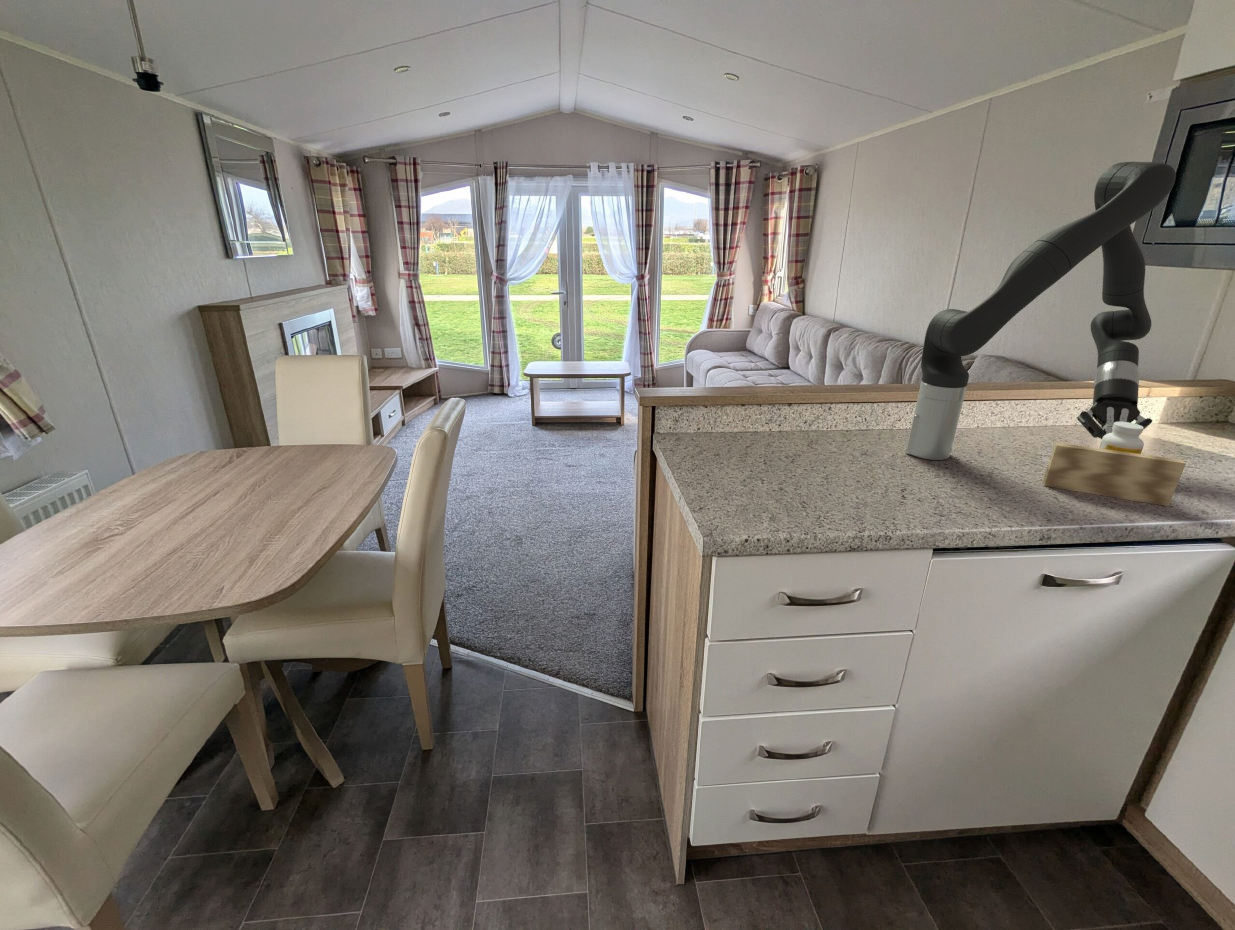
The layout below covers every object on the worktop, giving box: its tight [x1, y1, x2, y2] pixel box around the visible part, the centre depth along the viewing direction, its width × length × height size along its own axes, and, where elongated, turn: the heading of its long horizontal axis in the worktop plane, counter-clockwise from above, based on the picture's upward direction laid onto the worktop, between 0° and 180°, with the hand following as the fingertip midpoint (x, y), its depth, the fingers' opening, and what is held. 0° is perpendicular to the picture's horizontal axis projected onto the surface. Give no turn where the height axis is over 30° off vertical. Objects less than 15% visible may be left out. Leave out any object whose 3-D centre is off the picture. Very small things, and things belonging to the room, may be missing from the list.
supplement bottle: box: [1098, 422, 1145, 454], centre depth 118 cm, size 7×7×13 cm
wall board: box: [1042, 442, 1187, 507], centre depth 116 cm, size 20×6×9 cm, turn 62°
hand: (1111, 455), depth 122 cm, fingers closed
